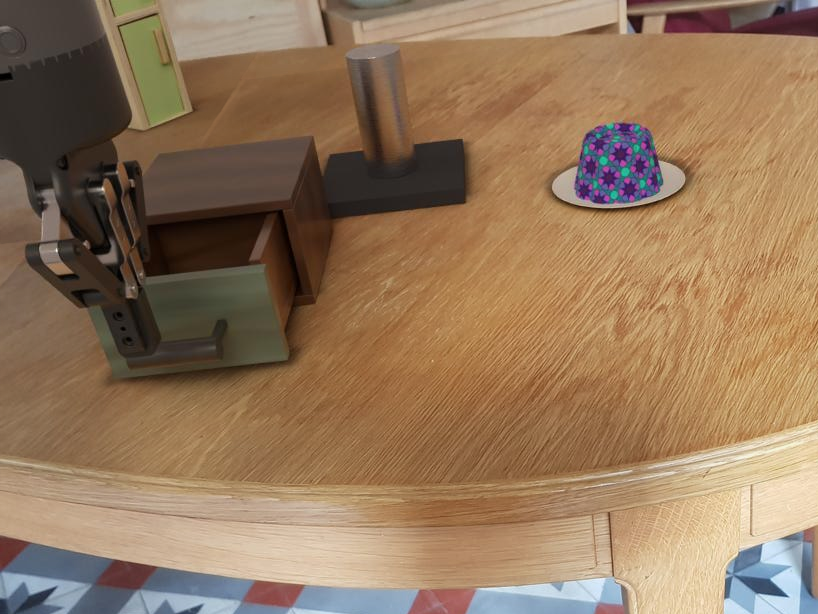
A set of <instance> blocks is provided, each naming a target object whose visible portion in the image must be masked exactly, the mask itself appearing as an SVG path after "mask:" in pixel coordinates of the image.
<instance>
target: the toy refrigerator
mask: <svg viewBox="0 0 818 614" xmlns="http://www.w3.org/2000/svg"><path fill="white" fill-rule="evenodd" d="M95 1H96V4H97V7H98V10H99V13H100V16H101V19H102V22H103V25H104V28H105V31H106V34H107V37H108V40H109V43H110V46H111V49H112V53H113V56H114V59H115V62H116V65H117V68H118V71H119V74H120V77H121V80H122V83H123V86H124V89H125V92H126V95H127V98H128V101H129V104H130V107H131V110H132V120H131V123H130V125H129V126H128V127H127V129H134V130H139V131H146V130H149V129H151V128H154V127H156V126H160V125H161V124H165V123H166V122H169V121H172V120H175V119H177V118H179V117H181V116H184V115H187V114H189V113H191V112H192V113H193V111H194V110H193V106H192V103H191V99H190V96H189V93H188V90H187V86H186V83H185V80H184V76H183V72H182V69H181V66H180V62H179V60H178V56H177V52H176V48H175V45H174V42H173V38H172V35H171V32H170V29H169V25H168V21H167V17H166V13H165V10H164V7H163V3H162V0H95Z"/></svg>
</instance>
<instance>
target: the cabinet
mask: <svg viewBox="0 0 818 614" xmlns="http://www.w3.org/2000/svg"><path fill="white" fill-rule="evenodd" d="M142 179H143V189H144V199H145V209H146V219H147V226H149V225H157V224H166V223H174V222H183V221H191V220H200V219H209V218H217V217H226V216H234V215H243V214H251V213H260V212H268V211H277V210H283V215H284V219H285V223H286V227H287V231H288V235H289V239H290V243H291V247H292V251H293V255H294V259H295V263H296V267H297V271H298V275H299V281H298V285H297V288H296V292H295V295H294V299H293V302H292V305H291V307H294V306H295V307H296V306H304V305H314V304H316V302H317V299H318V294H319V290H320V286H321V281H322V278H323V273H324V270H325V266H326V261H327V258H328V254H329V249H330V246H331V241H332V237H333V233H334V225H333V221H332V218H331V215H330V211H329V206H328V202H327V197H326V192H325V188H324V183H323V174H322V169H321V164H320V160H319V156H318V151H317V147H316V141H315V137H314V135H313V134H312V135H304V136H295V137H289V138H288V137H287V138H279V139H270V140H262V141H254V142H246V143H238V144H229V145H222V146H213V147H204V148H196V149H189V150H188V149H187V150H180V151H170V152H162V153H158V154H157V155H156V157H155V158H154V160H153V161H152V163H151V164H150V165H149V167H148V168H147V169H146V171H145V172H144V174H142Z"/></svg>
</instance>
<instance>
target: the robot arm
mask: <svg viewBox="0 0 818 614" xmlns="http://www.w3.org/2000/svg"><path fill="white" fill-rule="evenodd" d="M131 120H132V110H131V107H130V104H129V101H128V98H127V95H126V92H125V89H124V86H123V83H122V80H121V77H120V74H119V71H118V68H117V65H116V62H115V59H114V56H113V53H112V49H111V46H110V43H109V40H108V37H107V34H106V31H105V28H104V25H103V22H102V19H101V16H100V13H99V10H98V7H97V4H96V1H95V0H0V160H1V161H3V160H4V161H5V160H7V161H9V162H11V163H13V164H15V165H16V166H18V167H19V168H20V169H21V171H22V176H23V179H24V183H25V189H26V193H27V199H28V202H29V204H30V207H31V209H32V210H33V212H34V213H35V215H36V216H37V218H38V220H39V221H40V222H41V232H40V233H41V234H40V235H41V237H40V241H38V242H29V243H27V244H25V246H24V257H25V260H26V262H27V264H28V265H29V267H30V268H32V270H34V272H36V273H37V274H38V275H39V276H40V277H42V278H43V279H44V280H45V281H46V282H48V284H50V285H51V286H52V287H53V288H54V289H56V290H57V291H58V292H59V293H60V294H61V295H62V296H63V297H65V298H66V299H67V300H68V301H69V302H71V303H72V304H73V305H74V306H76V308H77V309H80V310H81V309H87V308H89V307H91V306H99V305H100V306H101V309H102V311H103V314H104V316H105V319H106V322H107V324H108V327H109V329H110V332H111V334H112V337H113V339H114V342H115V344H116V347H117V349H118V352H119V354H120V355H121V356H123V357H125V358H136V357H145V356H151V355H153V354H154V353H155V351H156V349H157V347H158V345H159V343H160V341H161V334H160V332H159V329H158V326H157V323H156V321H155V318H154V315H153V312H152V309H151V307H150V304H149V301H148V298H147V296H146V293H145V290H144V287H141V286H144V285H145V283H146V274H145V271H144V268H143V265H142V262H149V260H150V249H149V239H148V229H147V219H146V209H145V199H144V189H143V179H142V176H143V170H142V167H141V165H140V163H139V161H138V160H137V159H133V160H124V161H121V160H119V155H118V150H117V148H116V145H115V142H114V141H113V139H114V138H116V137H118V136H120V135H121V134H122V133H123V132H124V131H126V130H127V129H128V128H127V127H128V126H129V125H130V123H131Z"/></svg>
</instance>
